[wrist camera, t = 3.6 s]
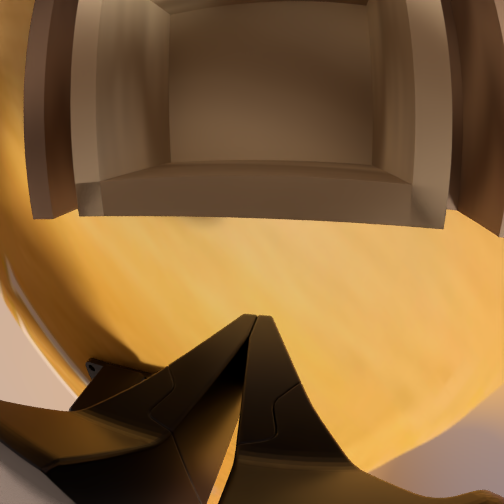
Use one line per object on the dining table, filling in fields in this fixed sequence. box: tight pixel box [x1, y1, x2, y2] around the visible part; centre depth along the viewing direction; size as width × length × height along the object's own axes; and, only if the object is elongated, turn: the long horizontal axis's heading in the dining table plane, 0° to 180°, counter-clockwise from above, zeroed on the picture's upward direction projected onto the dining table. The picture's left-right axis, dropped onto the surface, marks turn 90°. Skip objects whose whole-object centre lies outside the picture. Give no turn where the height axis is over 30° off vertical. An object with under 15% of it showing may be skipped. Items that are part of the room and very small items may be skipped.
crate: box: [70, 0, 452, 229], centre depth 7 cm, size 7×8×4 cm
